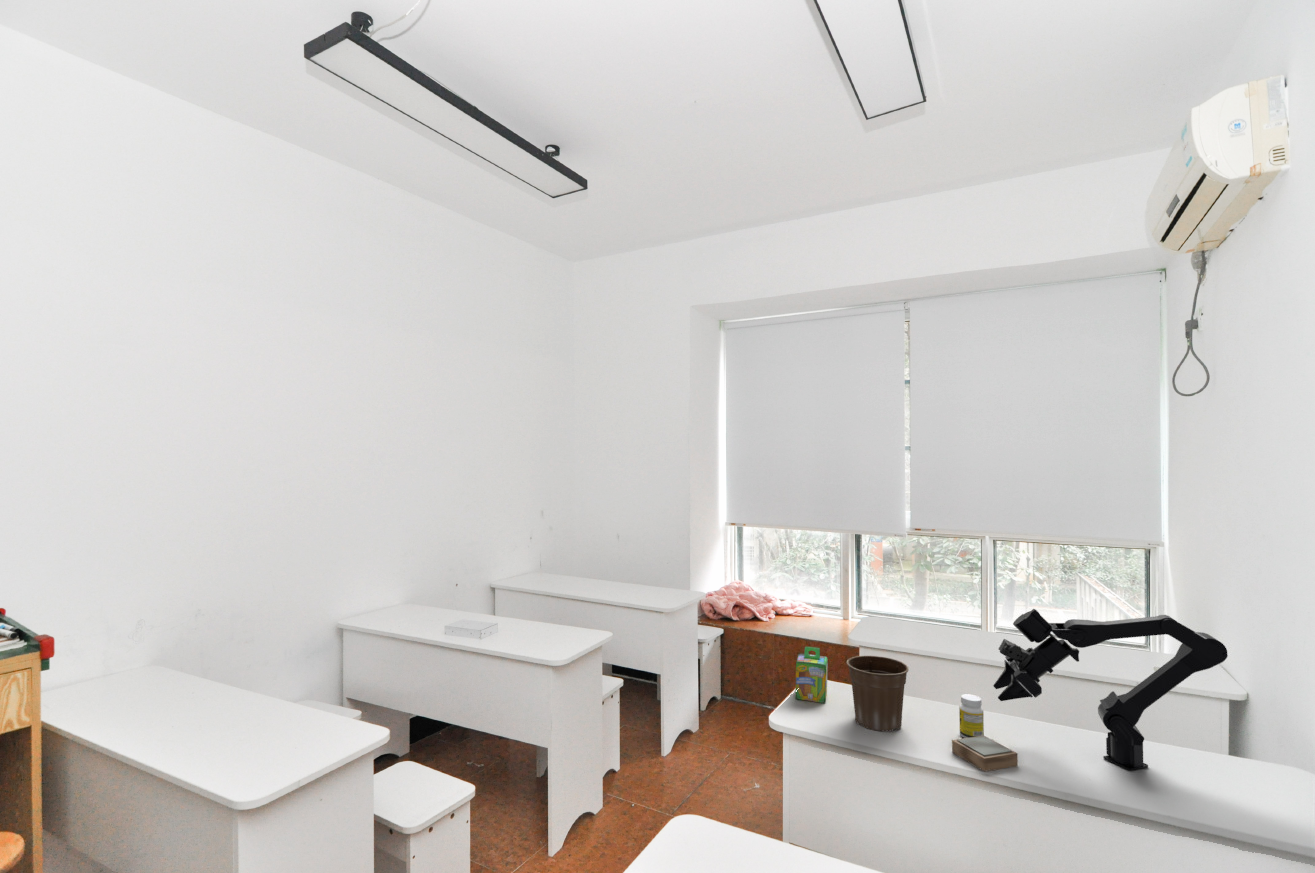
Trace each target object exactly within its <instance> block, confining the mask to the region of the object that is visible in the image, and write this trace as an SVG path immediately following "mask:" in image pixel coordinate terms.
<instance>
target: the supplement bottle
mask: <svg viewBox="0 0 1315 873" xmlns="http://www.w3.org/2000/svg"><path fill="white" fill-rule="evenodd" d="M960 702H961V703H960V704H959V712H958V714H959V734H960V737H962V738H970V737H976V736H983V735H984V736H985V728H984V726H985V725H984V724H985V723H984V709H983V707H982V705H983V703H982V698H981V697H979V695H975V694H968V693H965V694H964V693H962V694H961V696H960Z"/></svg>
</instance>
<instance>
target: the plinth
mask: <svg viewBox="0 0 1315 873" xmlns="http://www.w3.org/2000/svg"><path fill="white" fill-rule="evenodd" d="M951 747H952V748H951V753H953V754H954V755H956V756H957V757H959V756H960V757H959V758H961V759H963V760H965V761H966V762H968V763H969V764H971V765H972V766H974V767H976V768H978V769H980V770H981V771H982V772H984V773H985V772H991V771H996V770H1001V769H1002V770H1003V769H1009V768H1015V767H1019V765H1018V764H1019V762H1018V761H1019V756H1018V753H1017V752H1016V751H1014V750H1012V749H1010V747H1007V746H1005V745H1003V744H1001V743H999V742H997V741H995V740H993V739H992V738H990V737H987V736H985V734H984V735H983V736H976V737H970V738H964V737H962V738H955V739H952V740H951ZM1008 767H1009V768H1008Z"/></svg>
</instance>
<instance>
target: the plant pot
mask: <svg viewBox="0 0 1315 873" xmlns="http://www.w3.org/2000/svg"><path fill="white" fill-rule="evenodd" d="M846 665H847V667H848V672H849V678H850V679H851V681H850V682H851V689H852V691H851V692H852V698H853V699H852V700H853V708H854V718H855V722H856V723H857V725H858V726H859V725H862V726H863V727H864V728H865V729H869V730H872V731H876V732H892V731H894V730H896V731H897V730H899V729H901V728H902V724H903V723H902V721H903V710H904V709H903V707H904V697H905V696H904V694H905V686H906V683H907V673H908V672H909V666H908V665H907V664H906V663H904V662H902V661H900V660H898V659H894V658H890V657H885V656H877V655H858V656H857V655H856V656H853V657H849V658H848V659H847V660H846Z"/></svg>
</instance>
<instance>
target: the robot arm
mask: <svg viewBox="0 0 1315 873" xmlns="http://www.w3.org/2000/svg"><path fill="white" fill-rule="evenodd" d="M1012 625H1013V626H1014V627H1015V628H1016V629H1017V630H1018V631H1019V632H1020V633H1021V634H1023V636H1024V637H1025V638H1027V640H1028V641H1029V642H1030V643H1033V642H1035V643H1037V644H1039V645H1037V646H1035V648H1033V647H1028V648H1027V649H1024V648H1022V647H1021V646H1019V645H1017V644H1016V643H1014V642H1012V641H1009V640H1008V639H1005V638H1003V640H1002V641H1001V644H1000V645H999V647H998V651H999V653H1000V654H1001V655H1003V656H1005V657H1004V658H1005V659H1004V661H1003V662H1004V669H1003V670H1002V673H1001V674H1000V675H999V677H998V678H997V680H995V683H994V684H993V685H992V687H993V688H994V689H995V690H999V689H1002V688H1004V690H1002V691H1001V693H1000V694H999V695H998V696H997V699H998V700H999V701H1000V702H1006V701H1010V700H1016V699H1024V698H1033V697H1034V698H1037V697H1039V696H1041V695H1042V693H1043V692H1042V691H1043V688H1042V685H1041V684H1040V682H1041V679H1040V678H1041V677H1043V676H1044V675H1046V674H1047V673H1049V674H1052V673H1054V670H1053V669H1054V668H1055V667H1056V666H1057V665H1059V664H1060V663H1062V662H1063V661H1064V660H1065V659H1067V658H1069V656H1070V657H1071V658H1072V659H1073V660H1074V661H1076V662H1080V657H1079V654H1080V650H1079V649H1080V648H1087V647H1091V646H1096V645H1099V644H1102V643H1103V642H1106V641H1110V640H1117V639H1119V640H1120V639H1132V638H1140V637H1150V636H1151V637H1152V636H1161V635H1167V636H1170V637H1172V638H1173V639H1175V640H1176V641H1178V642H1180V643H1181V644H1180V645H1179V647H1178V650H1177V651H1176V654H1175V655H1174V656H1173V657H1172V658H1171V659H1170V660H1168V661H1167V662H1166V663H1164V664H1163V665H1162V666H1161V667H1158V669H1157V670H1155V671H1154V672H1153V673H1151V674H1150V675H1149V676H1148V677H1146V678H1144V679H1143V680H1142V681H1141V682H1139V683H1137V685H1135V686H1134V687H1133V688H1131V690H1129V691H1128V692H1126V693H1123V694H1119V695H1118V694H1116V692H1115V691H1110V693H1109V694H1108V695H1107V696H1106V697H1104V698H1102V699H1099V702H1100V704H1099V705H1098V706H1097V714H1098V716H1099V718H1100V720H1101V722H1102V723H1103V725H1104V727H1105V728H1106V729H1107V730H1109V731H1108V732H1107V737H1106V738H1105V741H1106V742H1105V743H1106V746H1105V747H1106V749H1105V750H1106V751H1105V752H1106V755H1104V756H1102V757H1103V759H1104V760H1106V761H1108V762H1110V763H1113V764H1115V765H1116V766H1119V767H1120V768H1123V769H1126V771H1127V770H1128V771H1135V770H1141V769H1147V768H1149V764H1147V763H1145V762H1144V742H1145V737H1144V735H1143V734H1142V733H1141V731H1140V730H1139V729H1138V727H1137V724H1138V723H1139V720H1140V719H1141V717H1142V714H1143V712H1145V710H1147V709H1148V708H1149V707H1150V706H1152V705H1153V704H1154V703H1155V702H1157V701H1158V700H1160V699H1161V698H1162V697H1164V696H1165V695H1167V693H1169V692H1170V691H1171V690H1173V689H1174V688H1176V687H1177V686H1179V684H1181V683H1182V682H1183V681H1185V680H1186V679H1188V678H1189V677H1190V676H1192V674H1195V673H1199V672H1202V671H1205V670H1209V669H1211V668H1214V667H1215V666H1218V665H1220V664H1222V663H1224V662H1225V661H1226V660H1227V658H1228V657H1229V655H1228V650H1227V647H1226V646H1225V644H1224V643H1223V642H1221V641H1219V640H1218V639H1217V638H1215V637H1213V636H1212V635H1210V634H1209V633H1206V632H1201V631H1200V632H1199V631H1197V632H1196V631H1194V630H1192V629H1191V628H1190V627H1187V626H1186V625H1184V624H1182V623H1180V622H1179V621H1177V620H1176V619H1174V617H1171V616H1170V615H1168V614H1159V615H1155V616H1147V617H1137V618H1126V619H1118V620H1115V619H1114V620H1106V621H1098V620H1091V619H1090V620H1089V619H1079V618H1078V619H1074V618H1073V619H1072V618H1071V619H1067V620H1066V621H1064V622H1048V621H1047V620H1046V619H1045V618H1044V617H1043V616H1042V615H1041V613H1040V612H1039V611H1038V610H1037V609H1036V608H1033V609H1031V610H1029V611H1027V612H1025V613H1022V614H1020V615H1019V616H1018V617H1017V618H1016V619H1015V620H1014V621H1013V623H1012ZM1053 634H1054V635H1055V636H1056V637H1057V638H1058V639H1057V638H1056V637H1055V636H1054V635H1053ZM1067 641H1068V642H1067ZM1068 643H1069V644H1068ZM1071 645H1072V646H1073V647H1072V646H1071ZM1074 647H1075V648H1074ZM1078 648H1079V649H1078Z"/></svg>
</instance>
